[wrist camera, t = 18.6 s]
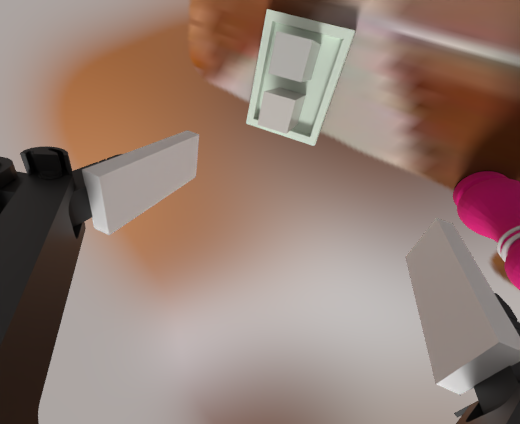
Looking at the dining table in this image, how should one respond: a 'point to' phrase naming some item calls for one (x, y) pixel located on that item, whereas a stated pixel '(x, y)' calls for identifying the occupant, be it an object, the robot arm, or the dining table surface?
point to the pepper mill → (493, 214)
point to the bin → (316, 89)
